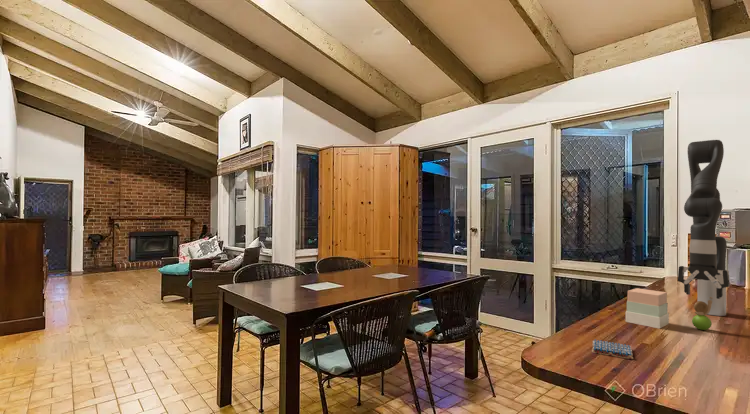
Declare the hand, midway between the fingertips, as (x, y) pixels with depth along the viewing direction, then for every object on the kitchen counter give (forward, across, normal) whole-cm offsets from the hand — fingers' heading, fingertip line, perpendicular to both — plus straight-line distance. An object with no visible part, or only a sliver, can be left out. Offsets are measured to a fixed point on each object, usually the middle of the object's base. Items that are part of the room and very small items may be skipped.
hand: (702, 296), depth 138 cm
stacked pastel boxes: (+12, +16, +6) cm, 21 cm away
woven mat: (+14, +11, +53) cm, 55 cm away
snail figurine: (+12, 0, 0) cm, 12 cm away
